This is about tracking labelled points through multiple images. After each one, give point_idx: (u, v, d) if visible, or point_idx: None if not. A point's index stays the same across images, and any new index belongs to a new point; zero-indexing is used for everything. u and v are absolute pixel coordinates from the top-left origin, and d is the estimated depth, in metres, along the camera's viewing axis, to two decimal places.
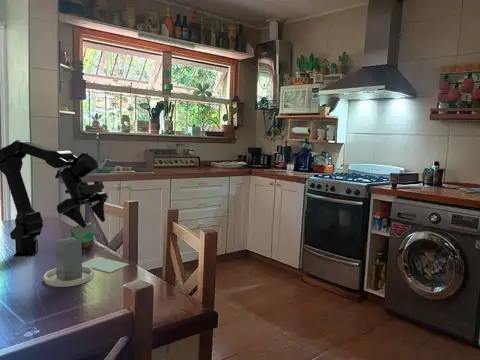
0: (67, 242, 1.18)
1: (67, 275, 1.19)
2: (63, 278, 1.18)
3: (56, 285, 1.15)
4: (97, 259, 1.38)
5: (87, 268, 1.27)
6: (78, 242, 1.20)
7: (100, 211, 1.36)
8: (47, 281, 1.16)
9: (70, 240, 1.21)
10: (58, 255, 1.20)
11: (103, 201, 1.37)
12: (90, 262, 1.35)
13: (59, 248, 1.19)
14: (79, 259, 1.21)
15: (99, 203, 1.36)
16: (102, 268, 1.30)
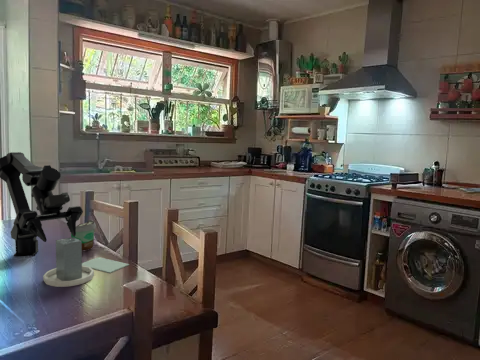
0: (67, 242, 1.18)
1: (67, 275, 1.19)
2: (63, 278, 1.18)
3: (56, 285, 1.15)
4: (97, 259, 1.38)
5: (87, 268, 1.27)
6: (78, 242, 1.20)
7: (71, 225, 1.29)
8: (47, 281, 1.16)
9: (70, 240, 1.21)
10: (58, 255, 1.20)
11: (74, 215, 1.30)
12: (90, 262, 1.35)
13: (59, 248, 1.19)
14: (79, 259, 1.21)
15: (71, 217, 1.30)
16: (102, 268, 1.30)
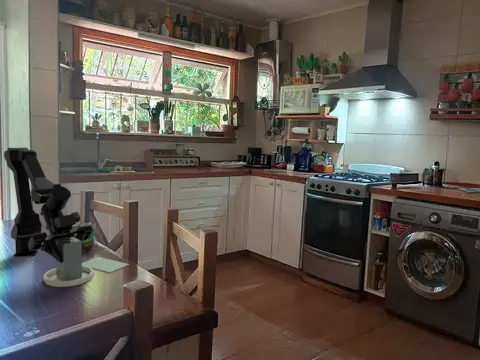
0: (67, 242, 1.18)
1: (67, 275, 1.19)
2: (63, 278, 1.18)
3: (56, 285, 1.15)
4: (97, 259, 1.38)
5: (87, 268, 1.27)
6: (78, 242, 1.20)
7: None
8: (47, 281, 1.16)
9: (70, 240, 1.21)
10: None
11: (80, 235, 1.25)
12: (90, 262, 1.35)
13: (59, 248, 1.19)
14: (79, 259, 1.21)
15: (76, 238, 1.24)
16: (102, 268, 1.30)
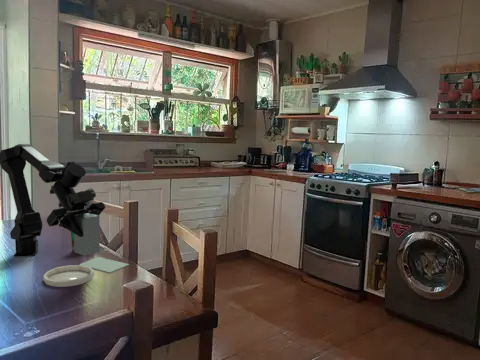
0: (87, 217, 1.23)
1: (87, 248, 1.23)
2: (83, 252, 1.23)
3: (56, 285, 1.15)
4: (97, 259, 1.38)
5: (87, 268, 1.27)
6: (96, 217, 1.25)
7: None
8: (47, 281, 1.16)
9: (88, 215, 1.25)
10: None
11: (95, 211, 1.29)
12: (90, 262, 1.35)
13: (78, 223, 1.23)
14: (97, 233, 1.26)
15: None
16: (102, 268, 1.30)
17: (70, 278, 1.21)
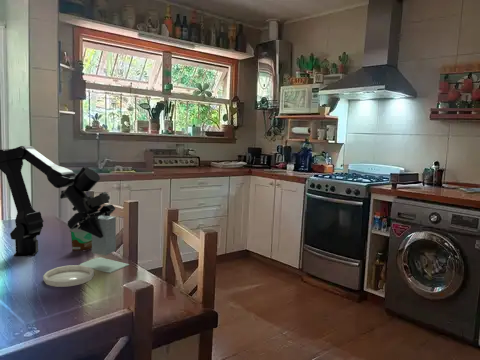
0: (106, 219, 1.30)
1: (107, 248, 1.31)
2: (104, 252, 1.30)
3: (56, 285, 1.15)
4: (97, 259, 1.38)
5: (87, 268, 1.27)
6: (114, 218, 1.33)
7: None
8: (47, 281, 1.16)
9: (104, 217, 1.33)
10: None
11: (108, 213, 1.36)
12: (90, 262, 1.35)
13: (97, 225, 1.30)
14: (114, 234, 1.34)
15: None
16: (102, 268, 1.30)
17: (70, 278, 1.21)
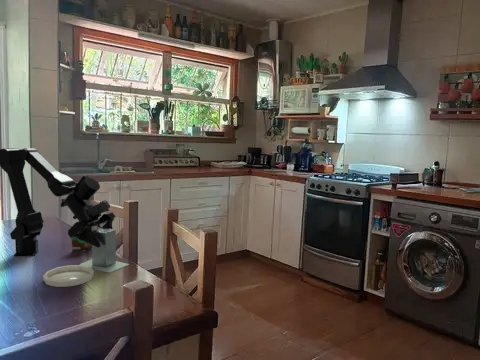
0: (106, 231, 1.31)
1: (107, 261, 1.31)
2: (104, 264, 1.31)
3: (56, 285, 1.15)
4: None
5: (87, 268, 1.27)
6: (114, 231, 1.33)
7: None
8: (47, 281, 1.16)
9: (104, 229, 1.33)
10: None
11: (111, 221, 1.38)
12: (90, 262, 1.35)
13: (97, 238, 1.30)
14: (114, 246, 1.34)
15: (107, 223, 1.37)
16: (102, 268, 1.30)
17: (70, 278, 1.21)
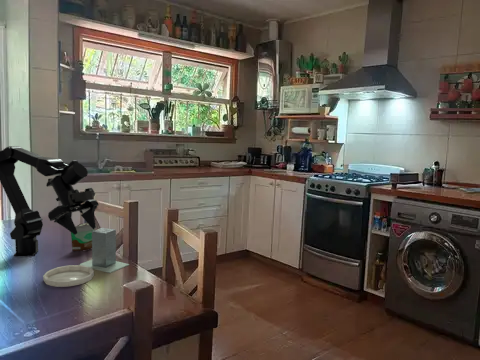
0: (106, 231, 1.31)
1: (107, 261, 1.31)
2: (104, 264, 1.31)
3: (56, 285, 1.15)
4: None
5: (87, 268, 1.27)
6: (114, 231, 1.33)
7: (91, 218, 1.38)
8: (47, 281, 1.16)
9: (104, 229, 1.33)
10: (96, 244, 1.31)
11: (94, 208, 1.39)
12: (90, 262, 1.35)
13: (97, 238, 1.30)
14: (114, 246, 1.34)
15: (90, 210, 1.38)
16: (102, 268, 1.30)
17: (70, 278, 1.21)
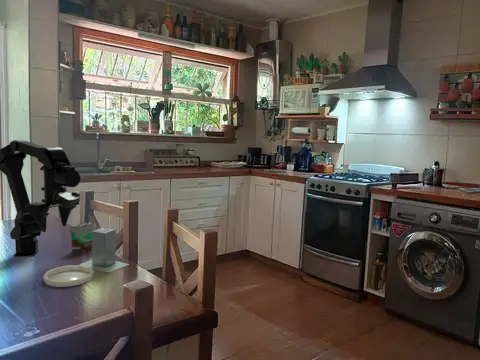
0: (106, 231, 1.31)
1: (107, 261, 1.31)
2: (104, 264, 1.31)
3: (56, 285, 1.15)
4: None
5: (87, 268, 1.27)
6: (114, 231, 1.33)
7: (65, 216, 1.39)
8: (47, 281, 1.16)
9: (104, 229, 1.33)
10: (96, 244, 1.31)
11: (72, 208, 1.39)
12: (90, 262, 1.35)
13: (97, 238, 1.30)
14: (114, 246, 1.34)
15: (68, 208, 1.38)
16: (102, 268, 1.30)
17: (70, 278, 1.21)
